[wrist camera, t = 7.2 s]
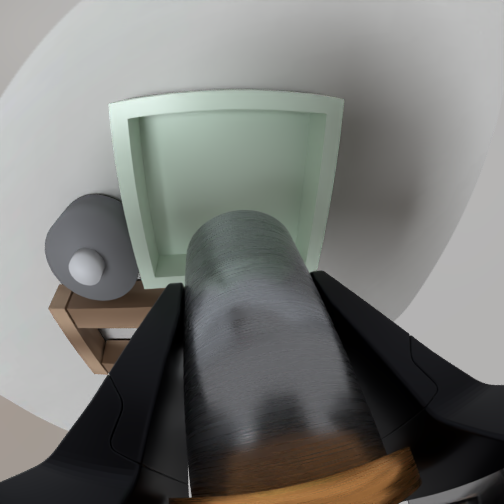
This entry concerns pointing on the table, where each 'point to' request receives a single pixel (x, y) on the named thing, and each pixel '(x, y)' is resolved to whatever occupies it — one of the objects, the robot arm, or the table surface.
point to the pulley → (93, 249)
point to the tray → (222, 168)
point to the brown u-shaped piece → (100, 322)
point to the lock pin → (273, 380)
